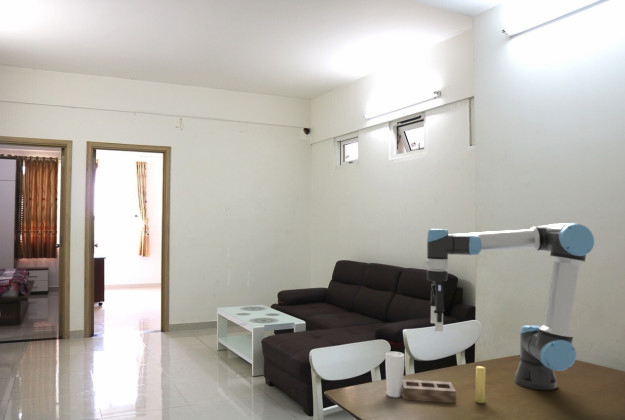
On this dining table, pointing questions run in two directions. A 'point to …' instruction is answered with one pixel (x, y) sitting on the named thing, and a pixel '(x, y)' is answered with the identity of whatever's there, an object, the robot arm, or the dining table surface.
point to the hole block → (428, 391)
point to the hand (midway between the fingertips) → (436, 327)
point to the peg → (480, 384)
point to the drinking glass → (394, 373)
